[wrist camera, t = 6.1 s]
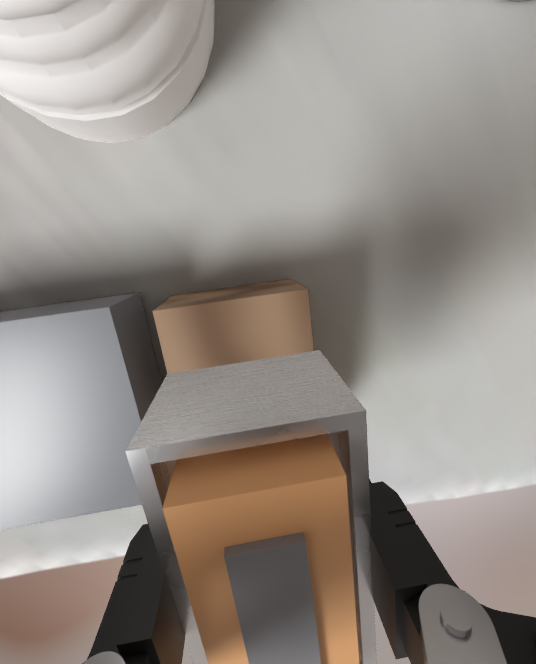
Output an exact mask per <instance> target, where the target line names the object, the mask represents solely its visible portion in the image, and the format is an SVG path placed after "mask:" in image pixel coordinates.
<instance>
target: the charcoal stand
mask: <svg viewBox="0 0 536 664" xmlns="http://www.w3.org/2000/svg"><path fill="white" fill-rule="evenodd" d="M161 385H162V382H161V378H160V374H159V370H158V366H157V362H156V358H155V354H154V350H153V346H152V341H151V337H150V333H149V329H148V325H147V321H146V317H145V313H144V309H143V305H142V301H141V297H140V293H139V292H138V293H131V294H123V295H116V296H109V297H102V298H94V299H87V300H80V301H72V302H65V303H58V304H51V305H43V306H36V307H29V308H21V309H14V310H7V311H0V530H4V529H10V528H15V527H21V526H26V525H32V524H37V523H43V522H48V521H54V520H59V519H65V518H70V517H76V516H81V515H87V514H92V513H98V512H103V511H109V510H114V509H120V508H125V507H131V506H136V505H142V502H141V499H140V496H139V493H138V490H137V487H136V484H135V480H134V477H133V474H132V471H131V468H130V465H129V462H128V458H127V455H126V452H125V451H126V449H127V447H128V445H129V444H130V442H131V440H132V438H133V436H134V434H135V433H136V431H137V429H138V427H139V425H140V423H141V421H142V420H143V418H144V416H145V414H146V412H147V410H148V409H149V407H150V405H151V403H152V401H153V399H154V398H155V396H156V394H157V392H158V390H159V388H160V386H161Z"/></svg>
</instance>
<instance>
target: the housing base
mask: <svg viewBox="0 0 536 664" xmlns="http://www.w3.org/2000/svg"><path fill="white" fill-rule="evenodd" d="M322 434H327V435H328V437H329V439H330V442H331V444H332V446H333V448H334V450H335V452H336V454H337V457H338V459H339V461H340V463H341V465H342V467H343V469H344V472H345V474H346V480H347V494H348V508H349V523H350V537H351V551H352V566H353V580H354V594H355V609H356V623H357V638H358V652H359V664H377V654H376V631H375V610H374V600H373V597H372V578H371V556H370V534H369V533H371V516H370V493H369V470H368V447H367V424H366V410H365V409H364V407H363V406H362V405H361V403H360V402H359V401H358V399H357V398H356V397H355V395H354V394H353V393H352V392H351V390H350V389H349V388H348V386H347V385H346V384H345V382H344V381H343V380H342V378H341V377H340V376H339V375H338V373H337V372H336V371H335V369H334V368H333V367H332V365H331V364H330V363H329V361H328V360H327V359H326V358H325V356H324V355H323V354H322V352H321V351H320V350H316V351H310V352H304V353H297V354H291V355H285V356H278V357H272V358H266V359H259V360H253V361H247V362H240V363H234V364H228V365H221V366H215V367H209V368H203V369H196V370H190V371H184V372H177V373H171V374H167V375H166V377H165V379H164V381H163V383H162V385H161V386H160V388H159V390H158V392H157V394H156V396H155V398H154V399H153V401H152V403H151V405H150V407H149V409H148V410H147V412H146V414H145V416H144V418H143V420H142V421H141V423H140V425H139V427H138V429H137V431H136V433H135V434H134V436H133V438H132V440H131V442H130V444H129V445H128V447H127V449H126V451H125V452H126V455H127V458H128V462H129V465H130V468H131V471H132V474H133V477H134V480H135V484H136V487H137V490H138V493H139V496H140V499H141V502H142V506H143V509H144V512H145V515H146V518H147V521H148V524H149V528H150V531H151V534H152V537H153V540H154V543H155V546H156V550H157V553H158V556H159V559H160V562H161V565H162V568H163V572H164V573H166V575H167V578H168V581H169V584H170V587H171V591H172V594H173V597H174V600H175V603H176V606H177V610H178V613H179V616H180V619H181V622H182V625H183V629H184V632H185V641H186V644H187V647H188V650H189V653H190V657H191V660H192V663H193V664H208V661H207V658H206V655H205V651H204V648H203V645H202V641H201V638H200V634H199V631H198V628H197V624H196V621H195V617H194V614H193V611H192V607H191V604H190V600H189V597H188V594H187V590H186V587H185V583H184V580H183V577H182V573H181V570H180V567H179V563H178V560H177V556H176V553H175V550H174V546H173V543H172V539H171V536H170V533H169V529H168V526H167V522H166V519H165V516H164V512H163V509H162V508H163V505H164V501H165V498H166V494H167V491H168V487H169V484H170V480H171V477H172V473H173V470H174V466H175V463H176V460H178V459H183V458H189V457H195V456H201V455H206V454H212V453H218V452H224V451H229V450H235V449H241V448H247V447H253V446H258V445H264V444H270V443H276V442H281V441H287V440H293V439H299V438H304V437H310V436H316V435H322Z"/></svg>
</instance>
